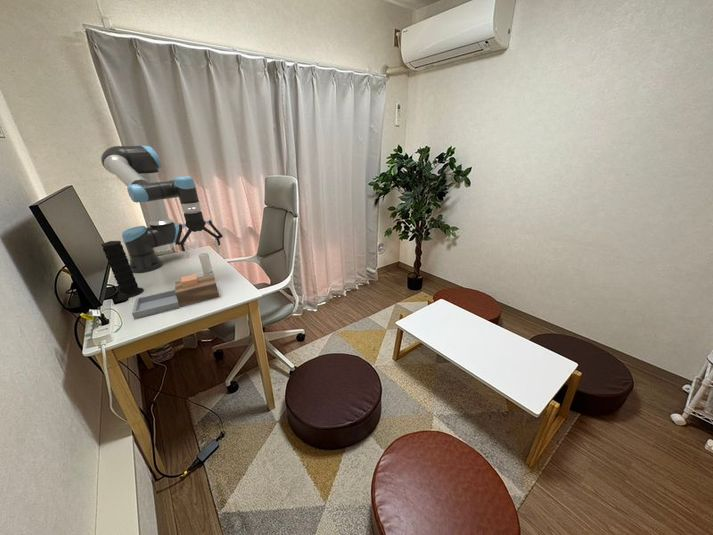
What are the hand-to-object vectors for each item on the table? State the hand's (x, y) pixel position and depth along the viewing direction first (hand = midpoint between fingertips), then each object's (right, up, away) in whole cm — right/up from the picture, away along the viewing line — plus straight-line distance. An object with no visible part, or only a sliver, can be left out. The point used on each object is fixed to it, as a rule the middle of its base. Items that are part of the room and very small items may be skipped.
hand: (203, 254), depth 136 cm
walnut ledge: (+2, -20, -7) cm, 21 cm away
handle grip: (-33, -19, -4) cm, 38 cm away
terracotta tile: (0, -14, -11) cm, 18 cm away
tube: (0, -14, +6) cm, 15 cm away
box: (-12, -23, -15) cm, 30 cm away
